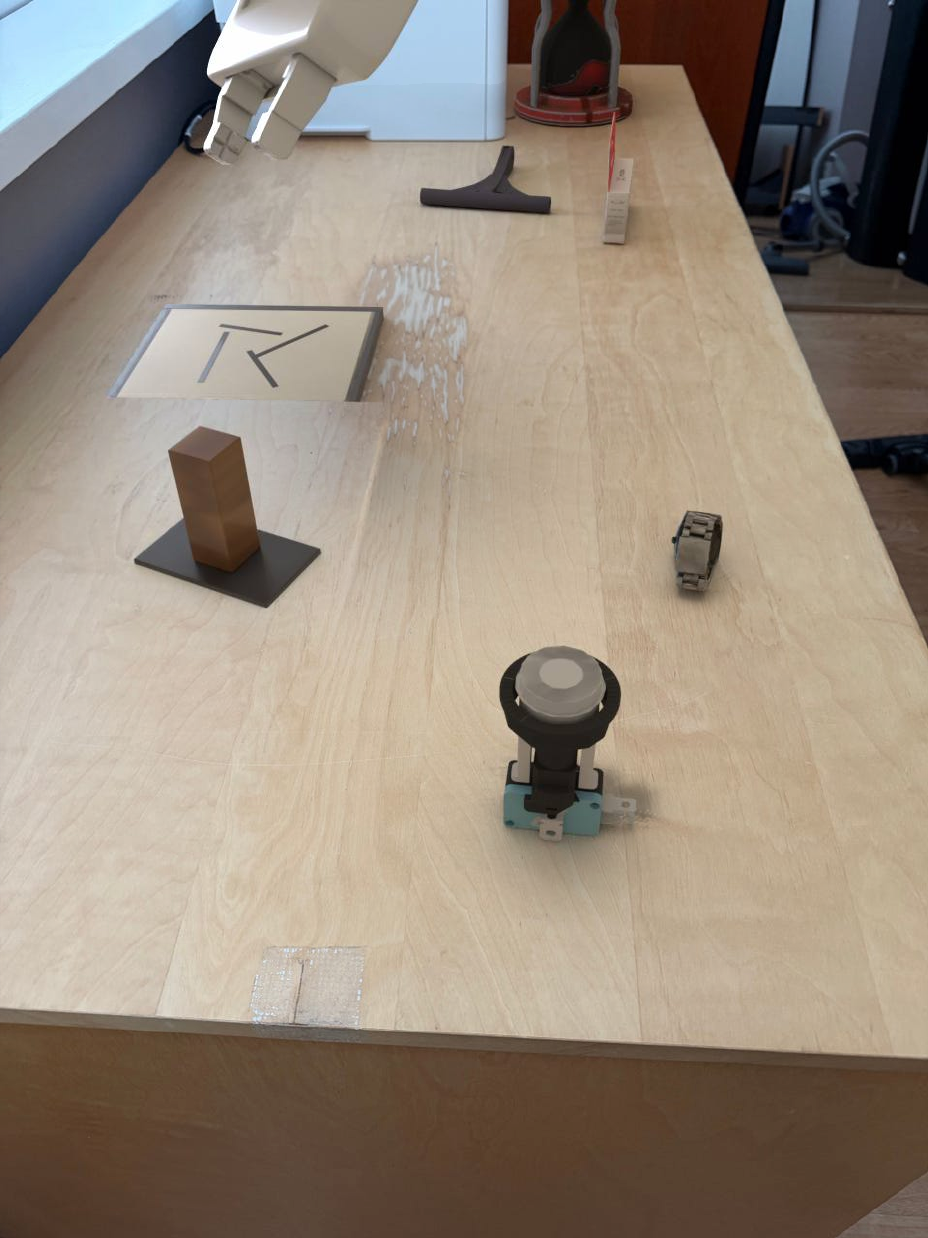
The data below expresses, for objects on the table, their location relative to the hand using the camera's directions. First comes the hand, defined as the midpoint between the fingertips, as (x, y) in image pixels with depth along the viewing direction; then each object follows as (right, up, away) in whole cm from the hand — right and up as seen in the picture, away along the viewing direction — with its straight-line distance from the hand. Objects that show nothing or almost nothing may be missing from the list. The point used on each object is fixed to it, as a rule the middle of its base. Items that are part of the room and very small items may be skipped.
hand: (240, 156), depth 58 cm
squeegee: (+16, +23, +61) cm, 68 cm away
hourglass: (+27, +44, +84) cm, 99 cm away
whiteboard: (-5, -5, +29) cm, 30 cm away
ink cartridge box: (+29, +16, +52) cm, 62 cm away
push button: (+18, -36, -7) cm, 41 cm away
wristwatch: (+27, -23, +8) cm, 36 cm away
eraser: (-2, -23, +8) cm, 25 cm away
